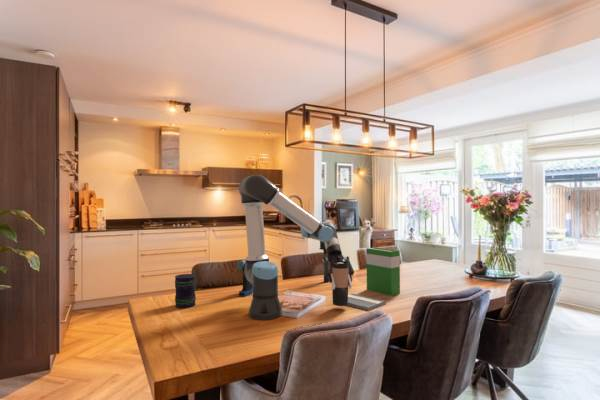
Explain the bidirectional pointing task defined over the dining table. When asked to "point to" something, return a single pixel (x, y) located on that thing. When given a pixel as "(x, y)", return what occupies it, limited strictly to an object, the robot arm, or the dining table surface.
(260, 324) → the dining table surface
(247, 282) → the handheld scanner
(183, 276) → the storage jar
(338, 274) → the travel mug
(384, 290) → the hardback book
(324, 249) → the potato masher grenade
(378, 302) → the grey book
